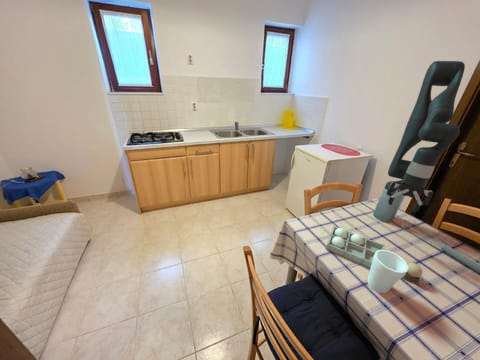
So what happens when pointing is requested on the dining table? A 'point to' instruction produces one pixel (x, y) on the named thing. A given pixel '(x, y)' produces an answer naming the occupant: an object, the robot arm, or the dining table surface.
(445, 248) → the kitchen whisk
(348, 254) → the egg carton
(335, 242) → the cream egg
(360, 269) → the dining table surface
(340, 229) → the cream egg
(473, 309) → the dining table surface
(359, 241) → the cream egg
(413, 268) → the beige sphere
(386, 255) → the foam cup
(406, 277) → the egg stand
